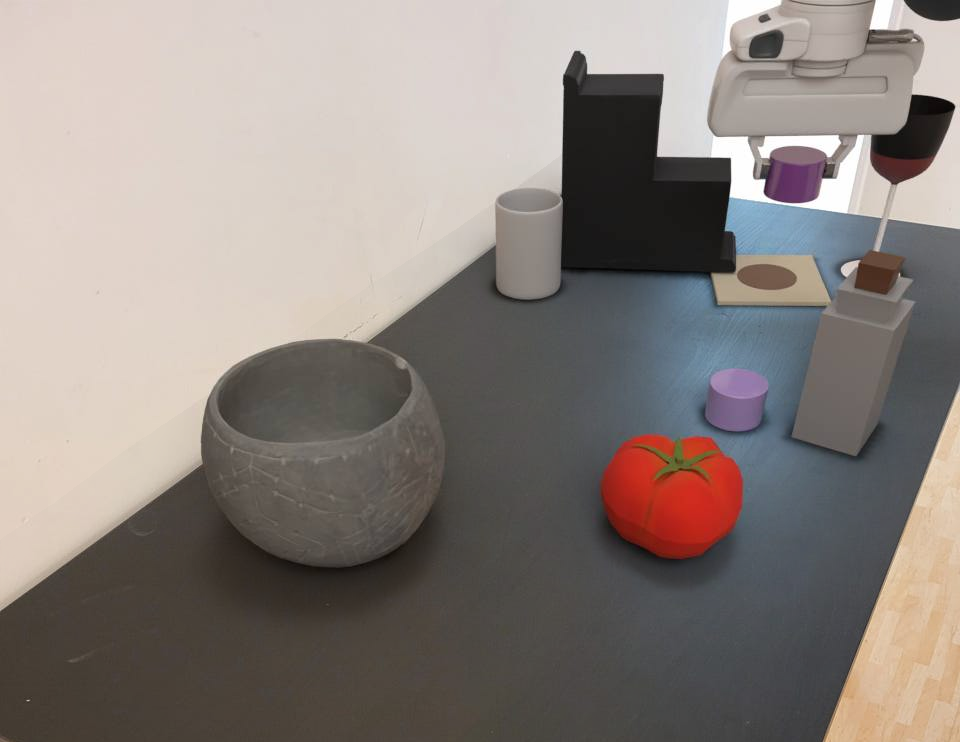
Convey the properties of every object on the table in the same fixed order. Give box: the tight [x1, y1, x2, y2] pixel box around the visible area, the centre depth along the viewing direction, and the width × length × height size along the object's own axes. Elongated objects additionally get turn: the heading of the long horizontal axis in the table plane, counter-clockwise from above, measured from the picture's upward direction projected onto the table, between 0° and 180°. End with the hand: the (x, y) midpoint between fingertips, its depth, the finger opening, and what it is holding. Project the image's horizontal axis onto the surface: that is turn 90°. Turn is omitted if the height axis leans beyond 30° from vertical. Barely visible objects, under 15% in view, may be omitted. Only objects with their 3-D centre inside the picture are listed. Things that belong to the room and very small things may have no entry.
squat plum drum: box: [763, 145, 828, 204], centre depth 102 cm, size 6×6×4 cm
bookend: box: [560, 50, 737, 273], centre depth 120 cm, size 23×11×24 cm, turn 79°
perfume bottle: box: [791, 249, 916, 457], centre depth 91 cm, size 7×7×18 cm
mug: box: [494, 187, 563, 301], centre depth 121 cm, size 12×8×11 cm
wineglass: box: [840, 93, 957, 278], centre depth 117 cm, size 8×9×20 cm
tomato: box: [599, 433, 744, 560], centre depth 84 cm, size 14×13×9 cm
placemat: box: [709, 254, 832, 307], centre depth 122 cm, size 14×14×1 cm
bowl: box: [200, 338, 447, 569], centre depth 83 cm, size 21×21×15 cm
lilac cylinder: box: [704, 368, 770, 432], centre depth 99 cm, size 6×6×4 cm
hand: (793, 177), depth 103 cm, fingers closed on squat plum drum, 6 cm apart
